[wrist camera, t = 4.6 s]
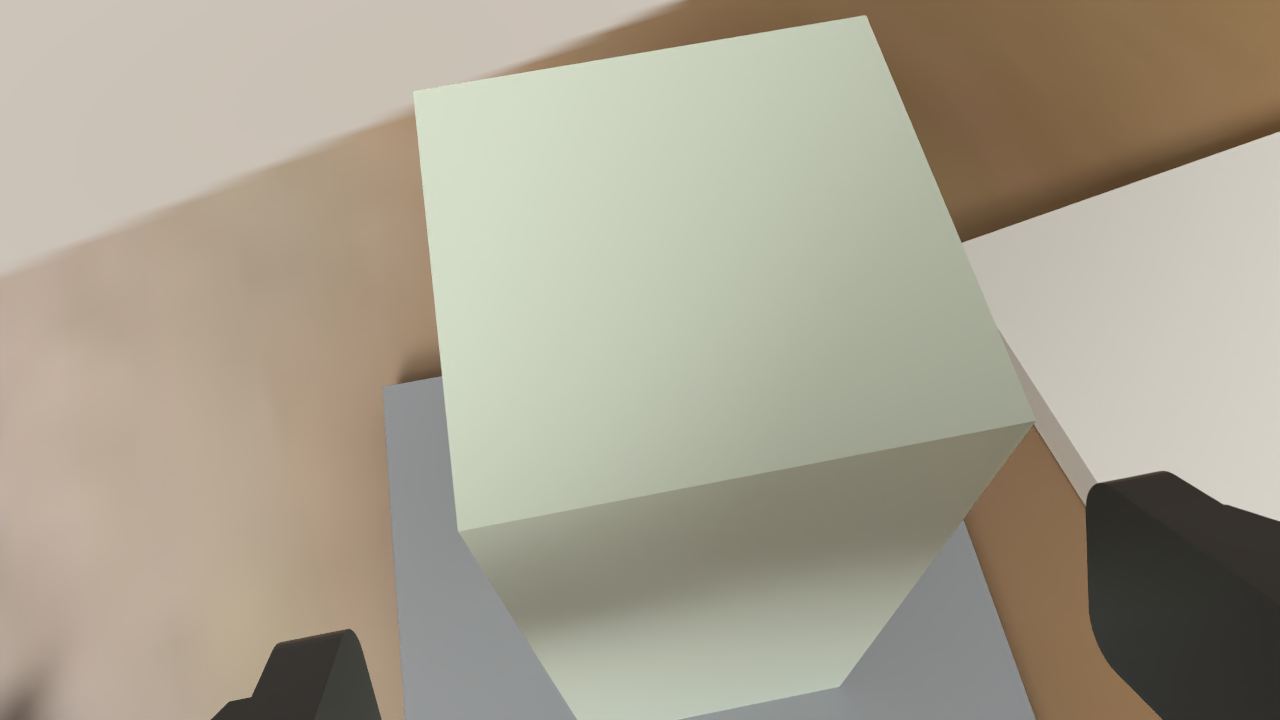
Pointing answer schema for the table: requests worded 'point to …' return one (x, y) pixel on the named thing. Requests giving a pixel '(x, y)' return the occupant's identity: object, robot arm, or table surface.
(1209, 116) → the table surface
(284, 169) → the table surface
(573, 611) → the pale green pillar
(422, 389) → the post stand
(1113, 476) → the mat
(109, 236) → the table surface
